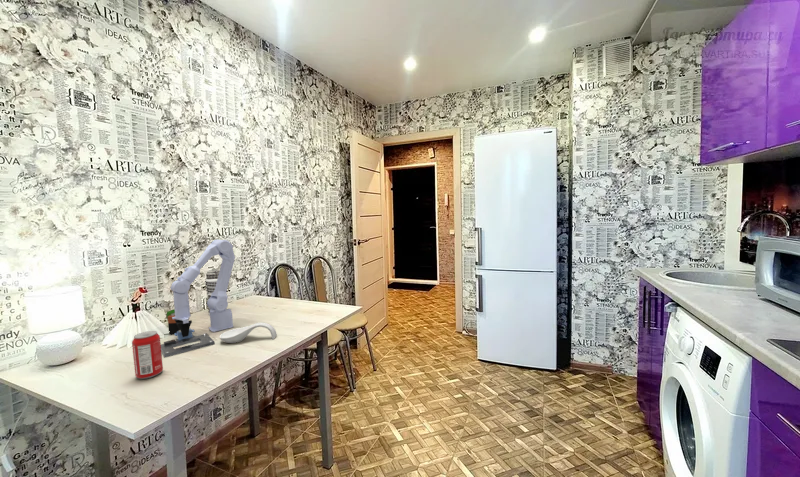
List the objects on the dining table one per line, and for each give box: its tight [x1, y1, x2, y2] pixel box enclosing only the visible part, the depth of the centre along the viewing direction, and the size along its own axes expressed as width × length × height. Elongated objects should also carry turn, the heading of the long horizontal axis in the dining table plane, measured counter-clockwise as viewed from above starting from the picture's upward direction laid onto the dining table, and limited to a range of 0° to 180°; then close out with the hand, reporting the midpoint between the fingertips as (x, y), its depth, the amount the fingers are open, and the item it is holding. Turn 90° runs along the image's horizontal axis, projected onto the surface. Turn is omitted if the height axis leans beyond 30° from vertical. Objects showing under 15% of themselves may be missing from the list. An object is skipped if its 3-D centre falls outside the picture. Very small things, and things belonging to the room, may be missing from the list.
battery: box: [167, 313, 179, 336], centre depth 161 cm, size 4×7×10 cm, turn 5°
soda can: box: [131, 330, 164, 380], centre depth 117 cm, size 8×8×15 cm
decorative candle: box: [204, 269, 220, 316], centre depth 190 cm, size 9×9×25 cm
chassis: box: [161, 333, 215, 358], centre depth 143 cm, size 18×14×2 cm
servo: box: [173, 328, 195, 341], centre depth 153 cm, size 8×3×4 cm, turn 132°
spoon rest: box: [218, 322, 277, 344], centre depth 149 cm, size 24×12×7 cm, turn 97°
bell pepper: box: [166, 308, 175, 320], centre depth 172 cm, size 8×8×10 cm
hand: (184, 335), depth 153 cm, fingers open, 4 cm apart
